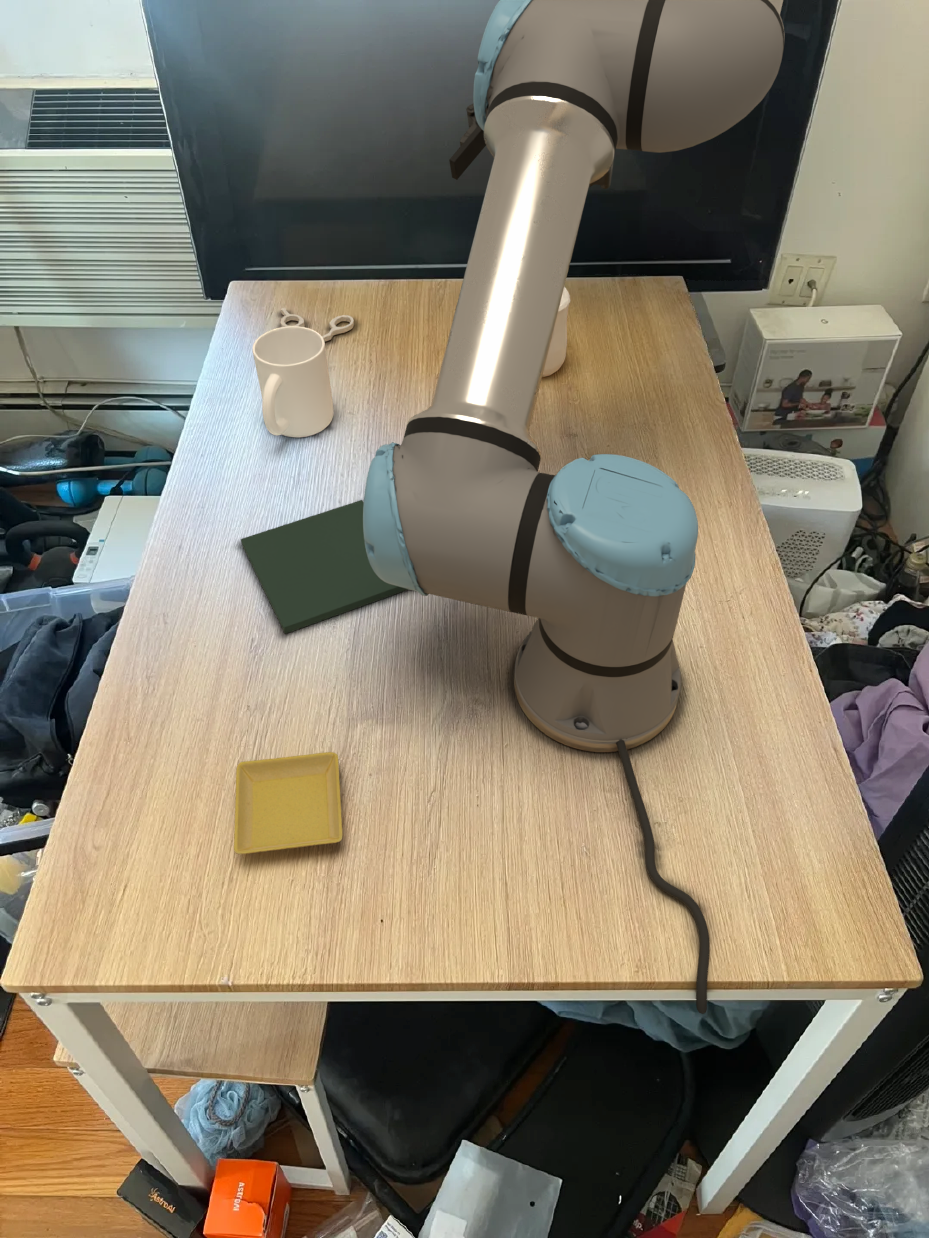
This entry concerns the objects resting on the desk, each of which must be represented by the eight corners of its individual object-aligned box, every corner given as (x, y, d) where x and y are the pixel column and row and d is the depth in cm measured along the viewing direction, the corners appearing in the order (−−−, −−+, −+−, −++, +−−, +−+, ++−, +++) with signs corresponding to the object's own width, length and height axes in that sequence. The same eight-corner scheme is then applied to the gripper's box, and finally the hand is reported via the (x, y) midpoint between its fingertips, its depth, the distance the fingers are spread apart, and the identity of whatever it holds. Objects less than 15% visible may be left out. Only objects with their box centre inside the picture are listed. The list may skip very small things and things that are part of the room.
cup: (523, 331, 126) (526, 263, 118) (582, 357, 121) (589, 289, 114) (478, 360, 121) (478, 292, 114) (537, 389, 116) (542, 320, 109)
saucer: (340, 763, 80) (338, 749, 78) (345, 853, 74) (342, 840, 73) (240, 774, 79) (236, 761, 78) (238, 866, 73) (233, 854, 72)
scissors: (356, 309, 128) (334, 392, 115) (356, 314, 128) (335, 397, 115) (281, 307, 128) (251, 389, 115) (282, 312, 129) (252, 395, 116)
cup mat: (414, 587, 94) (414, 581, 93) (284, 634, 90) (283, 627, 89) (362, 506, 102) (361, 499, 101) (242, 545, 98) (240, 538, 97)
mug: (305, 464, 107) (292, 390, 99) (241, 451, 109) (224, 376, 101) (344, 405, 114) (335, 332, 107) (284, 394, 116) (271, 321, 108)
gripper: (684, 134, 111) (589, 257, 107) (516, 63, 118) (420, 176, 114) (692, 80, 104) (590, 209, 100) (512, 8, 111) (410, 126, 107)
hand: (499, 192), depth 107 cm, fingers open, 13 cm apart
